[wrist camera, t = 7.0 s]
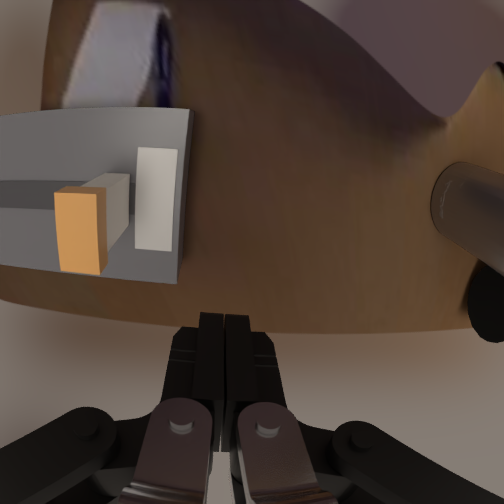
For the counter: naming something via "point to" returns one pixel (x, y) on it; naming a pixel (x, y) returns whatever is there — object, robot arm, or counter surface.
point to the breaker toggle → (91, 221)
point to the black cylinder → (487, 305)
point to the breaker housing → (88, 168)
